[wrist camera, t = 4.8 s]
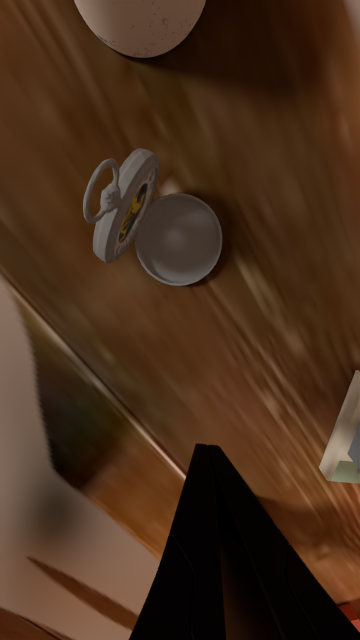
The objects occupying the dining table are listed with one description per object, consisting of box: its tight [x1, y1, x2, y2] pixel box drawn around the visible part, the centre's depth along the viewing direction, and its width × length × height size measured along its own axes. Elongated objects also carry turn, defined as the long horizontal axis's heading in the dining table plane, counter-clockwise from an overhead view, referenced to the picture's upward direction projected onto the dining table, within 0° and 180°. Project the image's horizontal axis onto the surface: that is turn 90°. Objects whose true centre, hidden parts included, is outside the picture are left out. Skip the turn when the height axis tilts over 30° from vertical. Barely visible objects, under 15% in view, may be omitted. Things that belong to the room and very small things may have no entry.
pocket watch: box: [83, 148, 222, 286], centre depth 14 cm, size 8×8×10 cm
